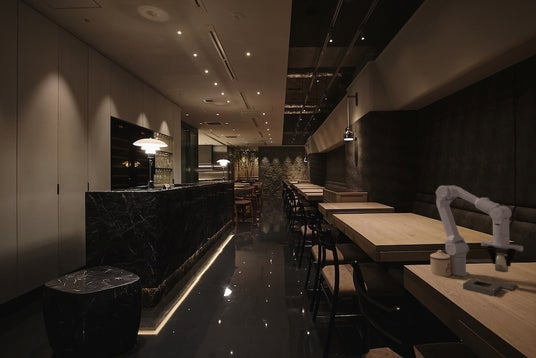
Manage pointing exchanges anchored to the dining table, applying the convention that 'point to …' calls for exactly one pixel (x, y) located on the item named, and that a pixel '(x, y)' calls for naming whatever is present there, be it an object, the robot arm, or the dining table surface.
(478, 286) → the block
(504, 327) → the dining table surface
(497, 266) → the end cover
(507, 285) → the rubber mat
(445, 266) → the teacup with lid
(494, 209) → the robot arm
